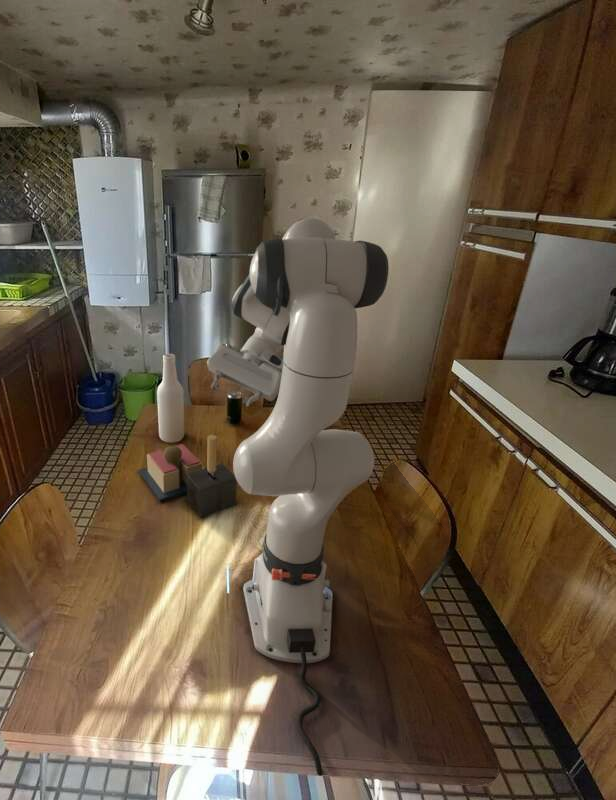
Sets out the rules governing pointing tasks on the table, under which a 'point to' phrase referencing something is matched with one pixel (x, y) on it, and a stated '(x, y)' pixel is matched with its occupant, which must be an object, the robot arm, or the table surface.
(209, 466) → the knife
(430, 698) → the table surface
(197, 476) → the knife holder
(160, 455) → the twin pink pillar stand
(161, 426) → the alcohol
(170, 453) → the brown piece
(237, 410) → the beer can
